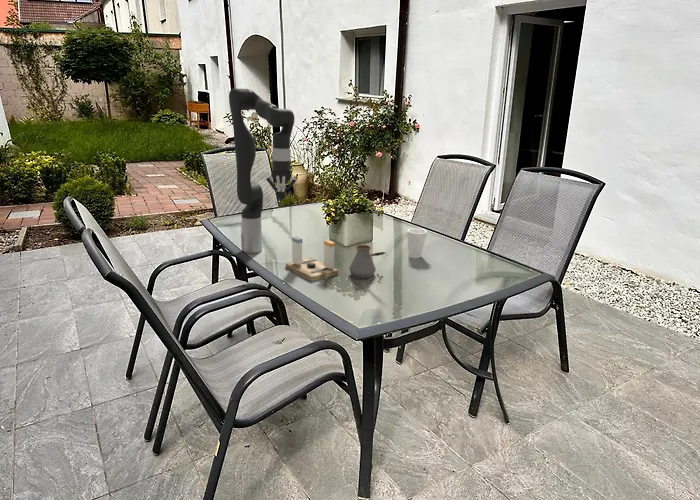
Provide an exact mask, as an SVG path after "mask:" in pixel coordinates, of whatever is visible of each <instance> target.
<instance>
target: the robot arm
mask: <svg viewBox="0 0 700 500" xmlns="http://www.w3.org/2000/svg"><path fill="white" fill-rule="evenodd" d="M228 102H229V109H230V110H229V111H230V115H231V121H232V127H233V139H234V140H233V141H234V153H235V162H236V164H235V165H236V195H237V196H236V197H237V199H238V201H239V202H240V203H241V204H243V205H245V207H244V208H243V209H242V211H241V234H240V236H241V237H240V239H241V252H242V251H244V252H243V253H245V252H246V253H245V254H259V253H261V252H262V251H263V238H262V237H263V234H262V233H263V232H262V231H263V230H262V212H263V207H264V192H263V189H262V186H261V185H260V184H259V183H257V182H252V181H251V175H252V169H253V166H254V163H255V160H256V155H257V151H256V149H257V148H256V139H255V138H254V136H253V134H252V133H251V131H250V129H249V128H248V127H247V125H246V124H245V122H244V118H243V114H242V111H252V110H253V111H255V113H256V114H257V115H258V116H259V118H262V119H263V120H265V121H266V122H267V123H268V125H269V126H272V127H274V128H281V130H280V131H279V132H275V133H274V134H273V135H272V152H271V153H272V154H271V160H272V161H271V162H272V163H271V164H272V166H271V168H272V169H271V171H272V172H271V173H270V176H268V177H267V178H266V182H267V183H268V184H269V185H270V187H271V189H273V191H277V197H278V200H279V201H284V200H285V199H286V192H288V191H289V190H290V189H291V188H292V187H293V185H294V184H295V183H296V182H297V180H298V179H297V178H295V177H293V176H292V175H293V174H292V172H291V171H292V170H291V161H292V159H291V158H292V157H291V156H292V155H291V137H292V131H293V129H294V128H293V127H294V125H295V114H294V112H293V110H292V109H289V108H278V106H277V105H275V104H273V103H271V102H270V101H267V100H265V99H263V98H262V97H261V96H260V95H258V94H257V92H255V91H254V90H252V89H250V88H231V89H230V90H229V92H228ZM289 181H290V183H289V184H288V186H287V183H288V182H289ZM275 183H276V184H275Z"/></svg>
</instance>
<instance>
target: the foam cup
mask: <svg viewBox="0 0 700 500" xmlns="http://www.w3.org/2000/svg"><path fill="white" fill-rule="evenodd" d="M427 233H428V231H427V230H426V229H423V228H408V229H407V231H406V237H407V251H408V252H407V253H408V257H409V258H411V259H419V258H418V257H421V258H422V255H423V251H424V247H425V243H426V238H427Z"/></svg>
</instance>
